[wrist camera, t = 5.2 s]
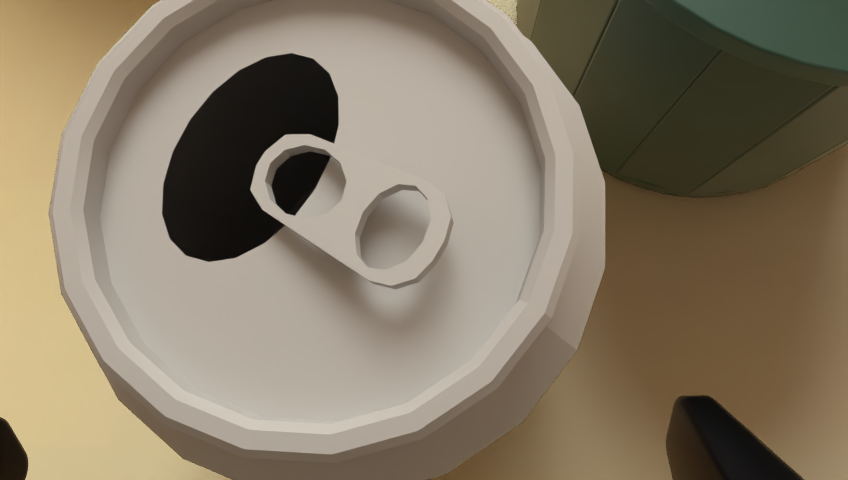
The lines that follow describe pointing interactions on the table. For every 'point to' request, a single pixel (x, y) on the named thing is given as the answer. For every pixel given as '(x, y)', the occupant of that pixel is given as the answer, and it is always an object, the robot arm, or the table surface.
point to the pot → (680, 100)
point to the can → (328, 232)
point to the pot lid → (772, 33)
